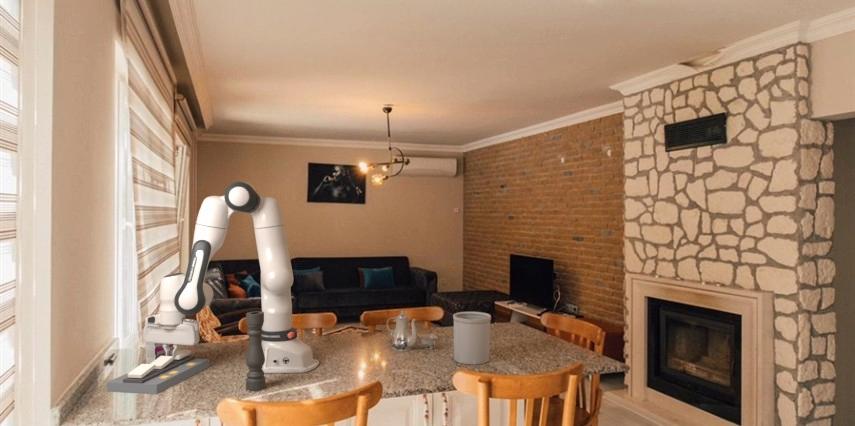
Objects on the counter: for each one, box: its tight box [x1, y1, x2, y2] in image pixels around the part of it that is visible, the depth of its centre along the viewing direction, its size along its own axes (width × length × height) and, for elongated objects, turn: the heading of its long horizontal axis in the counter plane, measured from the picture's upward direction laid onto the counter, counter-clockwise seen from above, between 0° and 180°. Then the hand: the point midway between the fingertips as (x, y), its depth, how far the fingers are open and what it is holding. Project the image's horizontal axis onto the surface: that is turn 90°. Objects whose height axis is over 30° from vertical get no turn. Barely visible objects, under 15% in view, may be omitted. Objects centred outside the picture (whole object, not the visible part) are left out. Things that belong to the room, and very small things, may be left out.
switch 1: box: [128, 363, 156, 378], centre depth 180 cm, size 5×7×1 cm
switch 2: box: [150, 356, 174, 369], centre depth 190 cm, size 5×7×1 cm
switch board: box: [106, 355, 210, 395], centre depth 190 cm, size 18×30×4 cm, turn 171°
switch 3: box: [174, 349, 192, 360], centre depth 200 cm, size 5×7×1 cm
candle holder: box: [245, 310, 266, 392], centre depth 179 cm, size 6×6×25 cm
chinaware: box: [385, 310, 440, 352], centre depth 231 cm, size 28×17×17 cm, turn 58°
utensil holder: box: [452, 311, 492, 365], centre depth 211 cm, size 15×15×18 cm
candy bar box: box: [144, 321, 175, 364], centre depth 212 cm, size 11×5×16 cm, turn 168°
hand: (171, 355), depth 196 cm, fingers closed, pressing on switch 3
